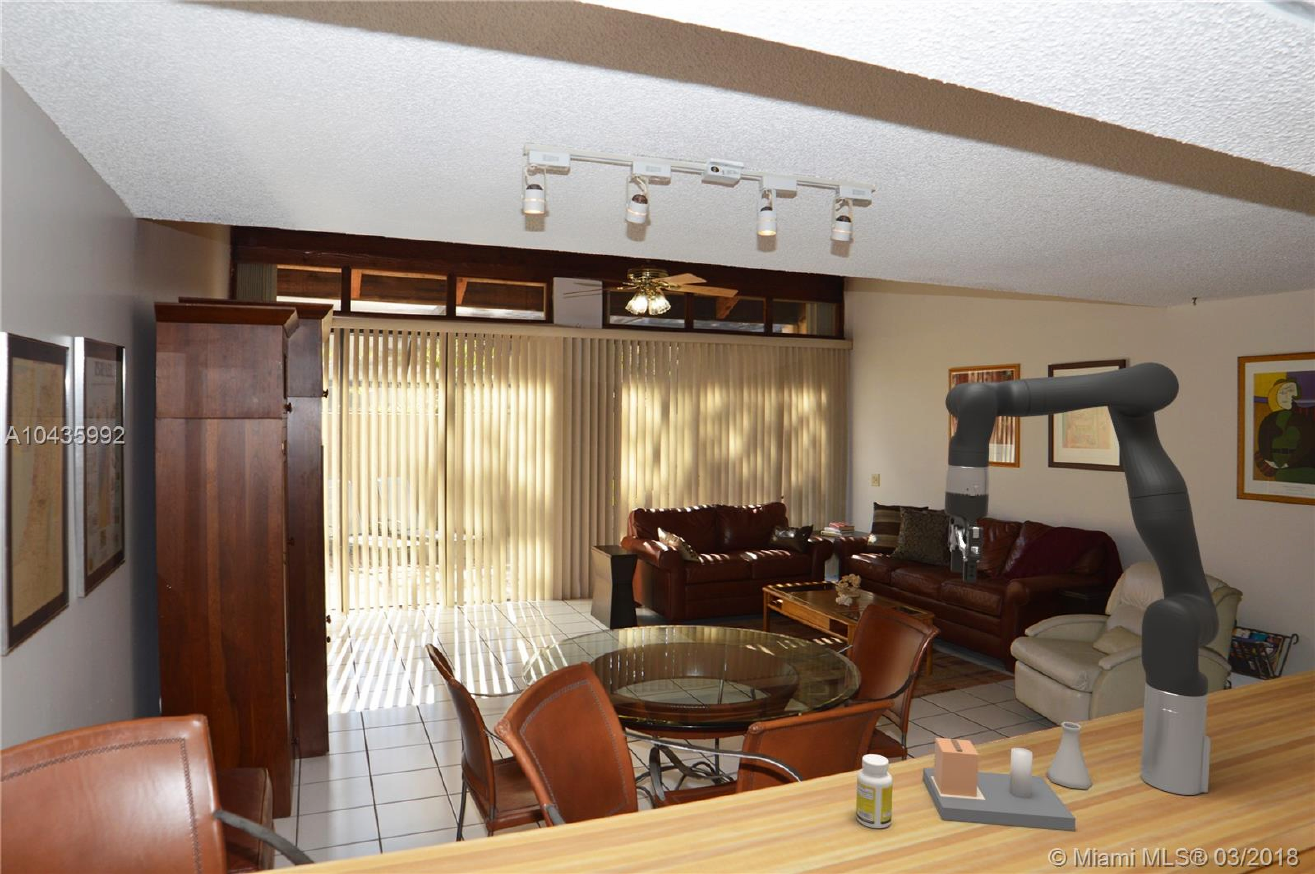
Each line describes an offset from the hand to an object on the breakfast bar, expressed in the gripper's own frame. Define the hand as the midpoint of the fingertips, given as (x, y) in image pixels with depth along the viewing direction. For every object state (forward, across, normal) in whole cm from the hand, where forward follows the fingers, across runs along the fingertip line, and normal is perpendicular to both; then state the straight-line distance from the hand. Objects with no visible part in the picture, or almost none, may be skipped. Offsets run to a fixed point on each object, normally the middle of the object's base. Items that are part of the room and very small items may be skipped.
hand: (963, 577), depth 147 cm
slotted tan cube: (+32, +17, -4) cm, 37 cm away
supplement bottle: (+34, +26, -19) cm, 47 cm away
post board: (+34, +17, +2) cm, 38 cm away
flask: (+34, +6, +18) cm, 39 cm away
